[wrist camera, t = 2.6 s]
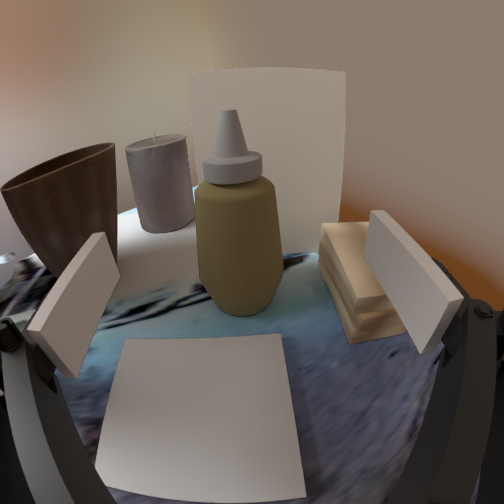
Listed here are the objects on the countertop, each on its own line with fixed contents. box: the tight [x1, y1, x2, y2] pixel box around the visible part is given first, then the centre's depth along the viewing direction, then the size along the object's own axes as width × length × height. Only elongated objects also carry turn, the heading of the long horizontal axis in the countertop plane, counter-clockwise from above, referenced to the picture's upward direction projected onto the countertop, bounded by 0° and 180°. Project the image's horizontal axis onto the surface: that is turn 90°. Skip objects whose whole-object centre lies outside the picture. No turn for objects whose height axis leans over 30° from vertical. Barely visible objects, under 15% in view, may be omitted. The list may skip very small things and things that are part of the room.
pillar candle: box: [125, 133, 195, 233], centre depth 40 cm, size 10×10×15 cm
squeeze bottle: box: [195, 110, 284, 316], centre depth 23 cm, size 8×8×18 cm
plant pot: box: [0, 143, 117, 279], centre depth 27 cm, size 15×15×16 cm
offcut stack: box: [318, 222, 407, 344], centre depth 25 cm, size 7×13×5 cm, turn 3°
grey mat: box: [95, 333, 306, 503], centre depth 17 cm, size 14×14×1 cm
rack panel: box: [187, 67, 346, 254], centre depth 29 cm, size 16×2×22 cm, turn 93°
